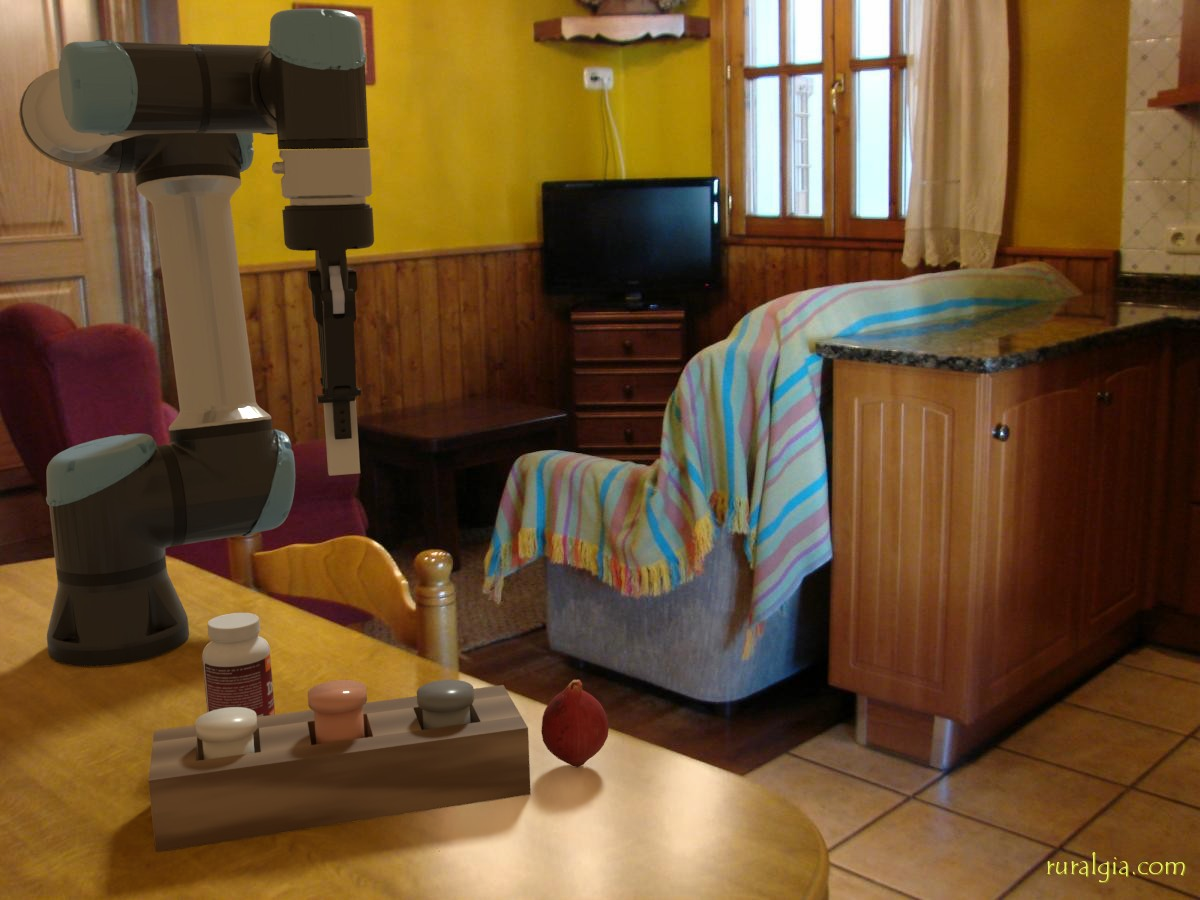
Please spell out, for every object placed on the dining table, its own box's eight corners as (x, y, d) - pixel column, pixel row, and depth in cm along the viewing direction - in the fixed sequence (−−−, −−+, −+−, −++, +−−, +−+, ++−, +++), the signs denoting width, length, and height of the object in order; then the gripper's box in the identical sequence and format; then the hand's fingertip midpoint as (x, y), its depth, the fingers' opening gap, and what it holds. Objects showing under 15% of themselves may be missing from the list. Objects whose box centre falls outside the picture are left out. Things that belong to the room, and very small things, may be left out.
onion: (560, 786, 112) (557, 698, 110) (532, 761, 117) (528, 676, 115) (620, 771, 115) (618, 684, 113) (590, 747, 120) (587, 663, 118)
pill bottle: (286, 733, 125) (277, 622, 122) (221, 750, 121) (211, 636, 119) (263, 712, 130) (254, 605, 127) (200, 728, 126) (190, 618, 124)
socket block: (160, 796, 112) (154, 730, 111) (506, 746, 120) (503, 684, 119) (155, 852, 103) (148, 780, 102) (530, 794, 111) (528, 727, 110)
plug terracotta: (312, 772, 113) (305, 684, 111) (368, 764, 114) (363, 676, 113) (316, 796, 108) (309, 705, 107) (375, 788, 110) (369, 697, 108)
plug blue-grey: (418, 770, 116) (413, 683, 114) (472, 762, 117) (467, 676, 115) (426, 793, 111) (421, 704, 109) (482, 785, 112) (478, 696, 111)
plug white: (204, 801, 111) (195, 711, 109) (263, 792, 112) (255, 704, 110) (203, 827, 106) (194, 734, 105) (265, 818, 108) (257, 725, 106)
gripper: (279, 201, 117) (297, 460, 122) (284, 205, 105) (304, 493, 110) (364, 198, 119) (379, 454, 124) (379, 202, 107) (395, 485, 112)
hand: (344, 472), depth 117 cm, fingers closed
